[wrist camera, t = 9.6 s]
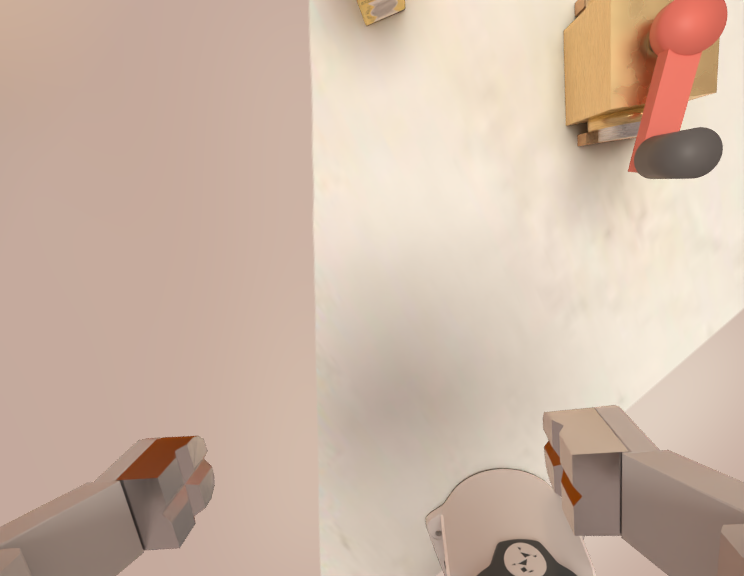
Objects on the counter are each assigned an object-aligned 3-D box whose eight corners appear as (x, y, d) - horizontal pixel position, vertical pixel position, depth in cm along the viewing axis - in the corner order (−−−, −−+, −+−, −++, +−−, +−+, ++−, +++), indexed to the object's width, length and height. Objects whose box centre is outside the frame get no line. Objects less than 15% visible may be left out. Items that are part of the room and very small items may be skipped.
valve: (645, 136, 38) (728, 119, 28) (566, 148, 39) (619, 136, 29) (648, -11, 35) (741, -87, 25) (562, 5, 36) (619, -62, 26)
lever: (716, 1, 26) (792, -44, 21) (665, 181, 29) (720, 181, 24) (658, -3, 26) (718, -49, 21) (613, 176, 29) (656, 174, 24)
